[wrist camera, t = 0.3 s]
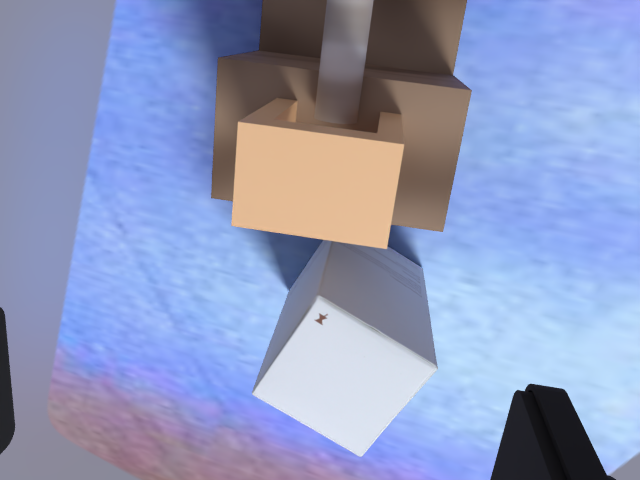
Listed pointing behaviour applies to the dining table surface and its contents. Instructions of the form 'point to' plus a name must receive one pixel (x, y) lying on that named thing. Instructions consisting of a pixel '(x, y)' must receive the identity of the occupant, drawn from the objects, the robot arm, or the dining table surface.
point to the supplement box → (350, 343)
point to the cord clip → (316, 176)
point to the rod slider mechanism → (357, 87)
